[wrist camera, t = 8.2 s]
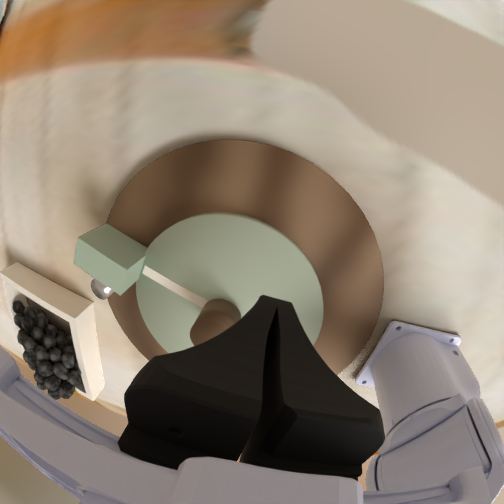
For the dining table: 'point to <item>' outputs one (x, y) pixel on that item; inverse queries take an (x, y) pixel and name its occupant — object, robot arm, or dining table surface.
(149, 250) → the flange plate
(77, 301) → the fruit frame
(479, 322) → the dining table surface
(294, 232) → the base board
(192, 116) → the dining table surface
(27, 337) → the fruit
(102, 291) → the dowel
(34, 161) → the dining table surface
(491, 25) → the dining table surface
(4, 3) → the food on plate
